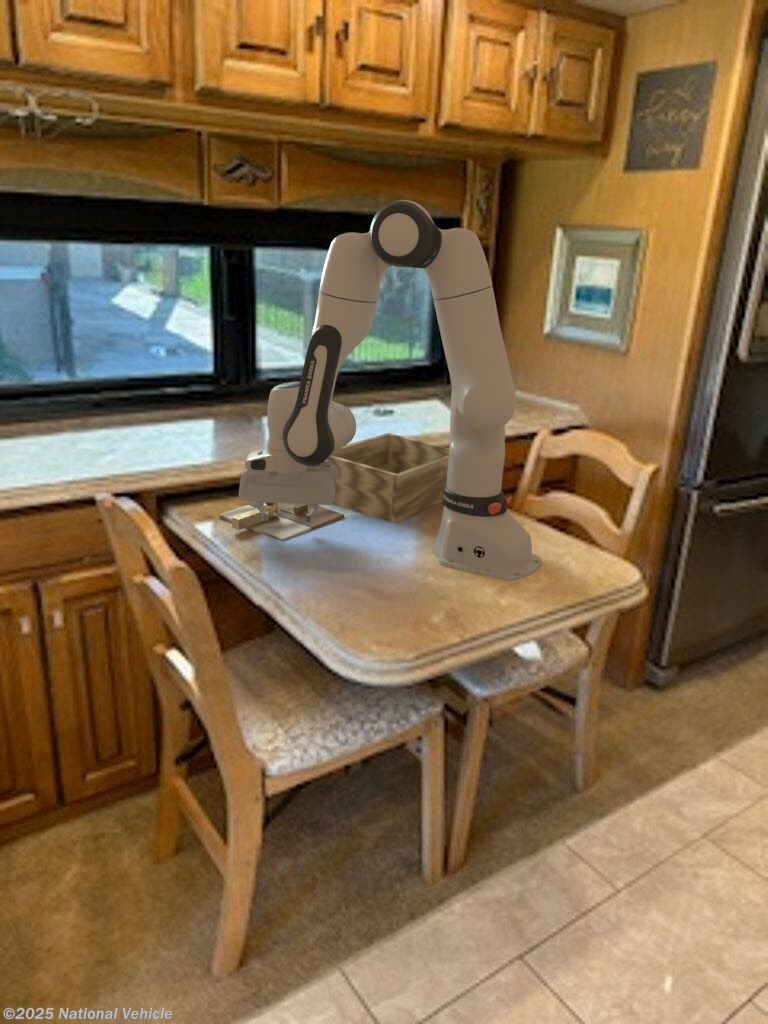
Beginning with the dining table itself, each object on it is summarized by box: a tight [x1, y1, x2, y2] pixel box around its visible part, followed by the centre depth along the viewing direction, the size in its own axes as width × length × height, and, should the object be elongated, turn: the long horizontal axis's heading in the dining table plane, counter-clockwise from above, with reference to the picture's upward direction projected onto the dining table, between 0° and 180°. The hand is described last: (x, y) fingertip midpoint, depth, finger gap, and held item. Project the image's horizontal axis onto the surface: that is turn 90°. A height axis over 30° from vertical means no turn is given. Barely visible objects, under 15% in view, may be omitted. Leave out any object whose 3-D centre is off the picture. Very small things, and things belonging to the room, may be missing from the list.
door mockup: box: [218, 502, 345, 542], centre depth 169 cm, size 20×20×3 cm
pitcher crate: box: [324, 432, 449, 525], centre depth 184 cm, size 24×28×12 cm
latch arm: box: [231, 502, 278, 531], centre depth 162 cm, size 12×4×4 cm, turn 142°
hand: (287, 521), depth 159 cm, fingers open, 8 cm apart
